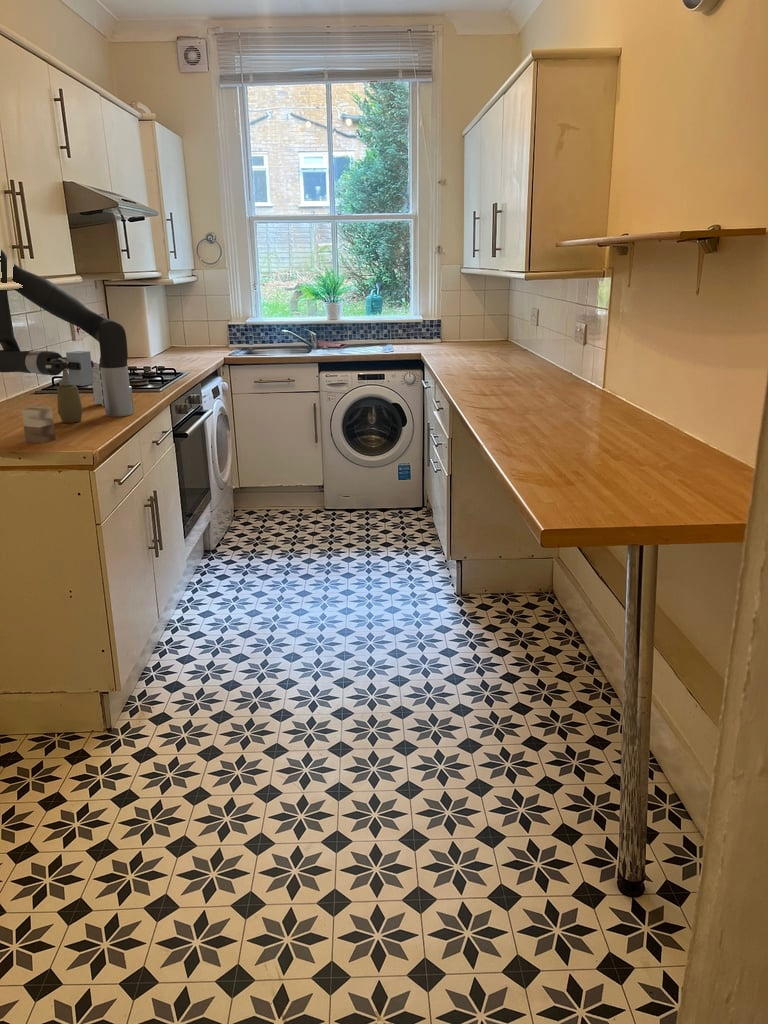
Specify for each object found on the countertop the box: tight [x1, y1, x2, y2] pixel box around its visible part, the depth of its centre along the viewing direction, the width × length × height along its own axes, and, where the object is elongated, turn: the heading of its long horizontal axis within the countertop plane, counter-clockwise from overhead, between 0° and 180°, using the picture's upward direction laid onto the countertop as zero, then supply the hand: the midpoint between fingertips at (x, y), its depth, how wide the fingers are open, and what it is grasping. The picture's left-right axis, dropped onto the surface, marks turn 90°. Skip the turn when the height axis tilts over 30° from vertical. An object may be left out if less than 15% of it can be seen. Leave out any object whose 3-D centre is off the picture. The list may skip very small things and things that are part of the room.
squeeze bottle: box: [56, 370, 84, 424], centre depth 264 cm, size 8×8×18 cm
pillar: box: [65, 350, 94, 387], centre depth 242 cm, size 5×5×10 cm
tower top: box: [20, 406, 54, 428], centre depth 236 cm, size 6×6×5 cm
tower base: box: [23, 424, 57, 444], centre depth 237 cm, size 6×6×5 cm
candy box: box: [91, 360, 131, 407], centre depth 300 cm, size 14×6×16 cm, turn 149°
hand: (86, 365), depth 241 cm, fingers closed on pillar, 5 cm apart
